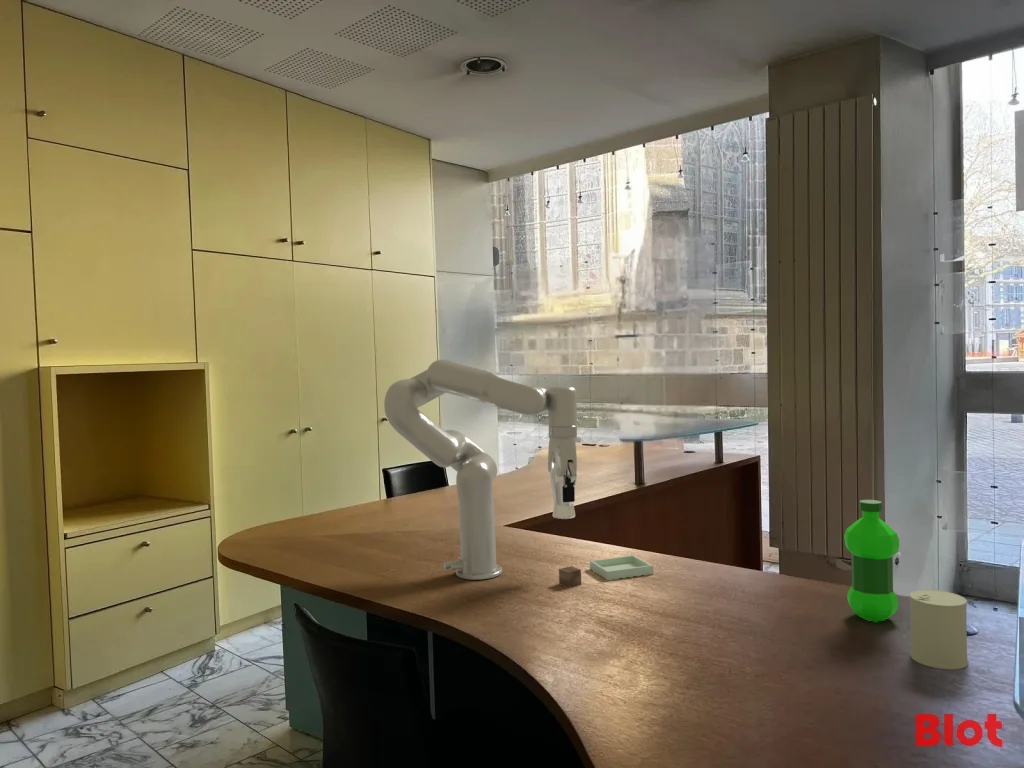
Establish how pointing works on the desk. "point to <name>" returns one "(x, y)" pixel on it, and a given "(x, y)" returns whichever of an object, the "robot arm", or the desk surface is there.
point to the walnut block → (570, 576)
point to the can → (938, 629)
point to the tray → (621, 567)
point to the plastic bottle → (872, 564)
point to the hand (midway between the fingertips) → (563, 498)
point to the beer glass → (560, 496)
